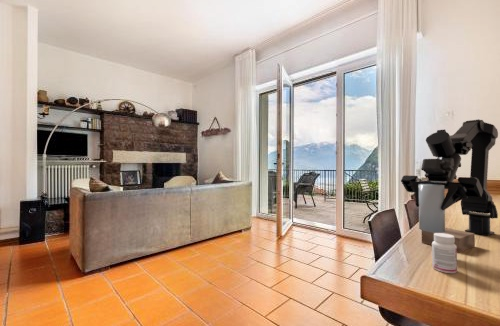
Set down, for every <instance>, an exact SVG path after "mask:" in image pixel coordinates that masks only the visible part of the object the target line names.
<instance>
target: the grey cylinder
mask: <svg viewBox="0 0 500 326" xmlns="http://www.w3.org/2000/svg"><path fill="white" fill-rule="evenodd" d="M418 186H419V207H418V229H419V230H421V231H422V230H423V231H427V232H434V233H443V232H445V228H446V209H445V210H442V209H441V206H442V203H443V201H444V198H445V196H446V195H445V194H446V193H445V192H446V191H445V190H446V189H444V185H440V184H418Z"/></svg>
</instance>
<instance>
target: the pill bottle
mask: <svg viewBox="0 0 500 326" xmlns="http://www.w3.org/2000/svg"><path fill="white" fill-rule="evenodd" d="M434 240H435V241H433V242H432V245H431V264H432V265H431V266H432V268H433V269H435V270H436V271H439V272H441V273H446V274H456V273H457V272H458V254H457V253H458V252H457V246H456V245H455V244H454V243H455V237H454V236H453V235H450V234H445V233H434Z"/></svg>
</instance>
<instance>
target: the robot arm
mask: <svg viewBox="0 0 500 326" xmlns="http://www.w3.org/2000/svg"><path fill="white" fill-rule="evenodd" d="M498 136H499V132H498V128H496V126H495V125H494V124H491V123H489V122H486V121H484V120H483V119H471V120H465V121H464V122H463V123H462V125H461V126H460V127H459V128H458V129H457V131H456V132H455V133H454V134H452V135H450V133H448V132H447V131H446V129H437V130H436V132H433V133H431V134H430V135H428V136H427V137H426V138H425V142H426V144H427V146H428V148H429V151H430V152H431V155H432V156H433V157H434V158H424V159H423V160H422V164H421V168H420V169H421V171H423V172H424V177H425V178H426V179H421V178H419V176H418V175H409V174H407V175H403V176H402V177H401V179H400V182H401V184H402V186H403V187H404V189H405V191H406V192H408V193H414V198H415V199H414V200H415V203H414V204H415V206H416V207H417V208H419V186H418V184H440V185H444V190H447V192H446V193H445V194H446V195H445V198H444V201H443V203H442V206H441V209H442V210H445V211H446V210H447V209H448V208H449V207H452V206H453V205H454V204H455V203H458V202H460V208H461V214H462V215H463V216H464V215H466V216H468V228H467V229H465V230H464V232H470V233H475V234H477V235H481V236H482V235H483V236H490V235H494V234H495V231H491V219H492V220H493V219H498V218H499V214H498V210H497V206H496V204H495V203H494V201H493V196H492V195H491V193H490V192H489V191H488V189H487V186H488V170H489V169H488V168H489V153H490V151H491V149H492V148H493V147H494V146H495V145H496V142H497V141H496V140H497V139H498ZM470 151H471V158H470V159H471V160H470V161H471V162H470V175H469V177H466V176H465V177H464V176H461V177H460V176H459V177H457V175H456V174H457V172H458V168H461V167H462V162H461V161H462V157H461V156H462V155H463V156H466V155H468V154H469V152H470ZM454 180H457V181H456V182H455V181H454Z"/></svg>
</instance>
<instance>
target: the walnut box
mask: <svg viewBox="0 0 500 326" xmlns="http://www.w3.org/2000/svg"><path fill="white" fill-rule="evenodd" d="M443 233H445V234H450V235H453V236H454V237H455V243H454V244H455V245H456V246H457V253H462V252H464V251H466V250H468V249H472V248H475V247H476V246H475V243H476V241H475V236H476V235H475V234H476V233H470V232H465V230H464V231H463V230H460V229H459V230H458V229H453V228H448V227H445V232H443ZM433 241H435V240H434V232H427V231H423V230H421V243H422V244H425V245H429V246H432V242H433Z"/></svg>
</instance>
